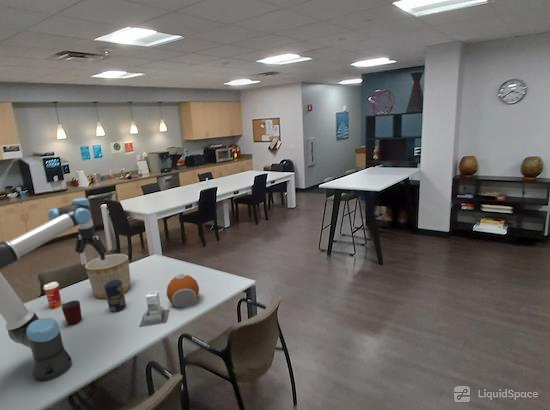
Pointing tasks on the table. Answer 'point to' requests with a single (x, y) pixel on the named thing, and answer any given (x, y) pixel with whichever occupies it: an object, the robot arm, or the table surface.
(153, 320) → the collar
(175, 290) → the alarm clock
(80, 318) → the mug
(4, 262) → the robot arm
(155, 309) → the syrup box
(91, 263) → the planter
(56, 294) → the coffee cup
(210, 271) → the table surface
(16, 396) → the table surface
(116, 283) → the canister
